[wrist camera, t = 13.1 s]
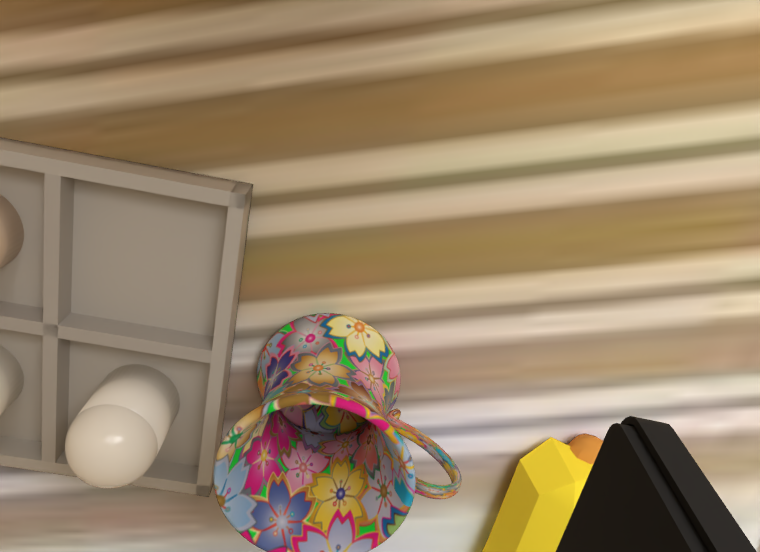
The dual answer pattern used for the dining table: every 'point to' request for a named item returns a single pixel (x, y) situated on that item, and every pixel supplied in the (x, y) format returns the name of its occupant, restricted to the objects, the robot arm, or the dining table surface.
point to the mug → (324, 444)
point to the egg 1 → (9, 232)
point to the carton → (119, 299)
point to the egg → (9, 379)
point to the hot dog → (543, 496)
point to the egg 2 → (122, 426)
